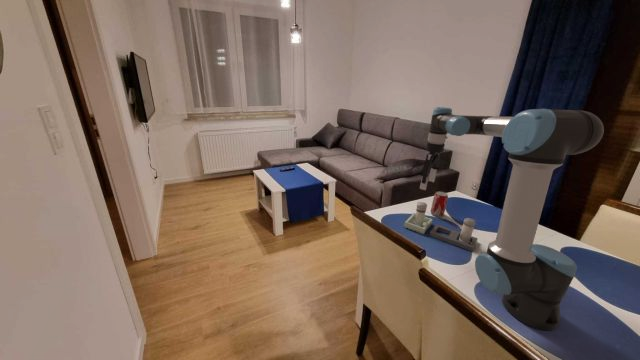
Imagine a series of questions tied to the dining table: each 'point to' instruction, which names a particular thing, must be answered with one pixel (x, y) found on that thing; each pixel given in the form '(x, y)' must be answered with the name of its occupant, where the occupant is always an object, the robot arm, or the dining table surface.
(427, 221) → the tray
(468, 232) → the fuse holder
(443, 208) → the soda can
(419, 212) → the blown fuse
